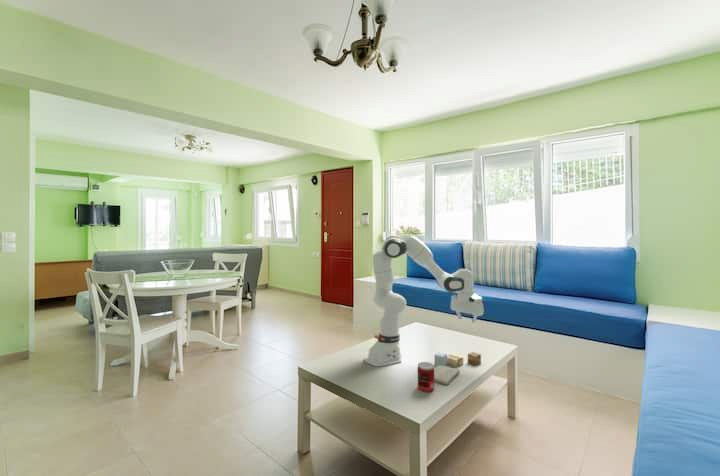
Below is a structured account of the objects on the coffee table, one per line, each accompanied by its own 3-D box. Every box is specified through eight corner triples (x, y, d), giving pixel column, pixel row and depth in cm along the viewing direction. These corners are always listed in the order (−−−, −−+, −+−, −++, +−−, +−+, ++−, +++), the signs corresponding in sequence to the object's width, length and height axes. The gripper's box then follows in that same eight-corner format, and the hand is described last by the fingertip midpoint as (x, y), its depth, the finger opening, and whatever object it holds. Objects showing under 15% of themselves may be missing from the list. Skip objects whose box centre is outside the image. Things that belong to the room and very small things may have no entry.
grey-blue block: (442, 367, 174) (442, 356, 174) (434, 365, 177) (434, 354, 177) (446, 364, 178) (446, 354, 178) (438, 362, 181) (438, 352, 181)
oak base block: (455, 367, 175) (455, 360, 175) (445, 363, 180) (445, 356, 180) (463, 364, 179) (463, 357, 179) (452, 360, 185) (452, 353, 184)
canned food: (431, 384, 154) (431, 361, 154) (436, 392, 146) (436, 368, 146) (416, 384, 154) (416, 362, 154) (419, 392, 146) (419, 368, 146)
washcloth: (460, 373, 167) (460, 367, 167) (448, 387, 153) (448, 380, 153) (438, 368, 174) (438, 362, 174) (425, 380, 160) (425, 374, 160)
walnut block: (475, 365, 177) (475, 356, 177) (467, 362, 181) (467, 353, 181) (480, 363, 180) (480, 354, 180) (473, 360, 184) (473, 351, 184)
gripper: (447, 294, 191) (448, 317, 191) (478, 300, 174) (478, 325, 174) (454, 293, 194) (455, 315, 195) (484, 298, 178) (485, 323, 178)
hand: (466, 320), depth 184 cm, fingers open, 8 cm apart
